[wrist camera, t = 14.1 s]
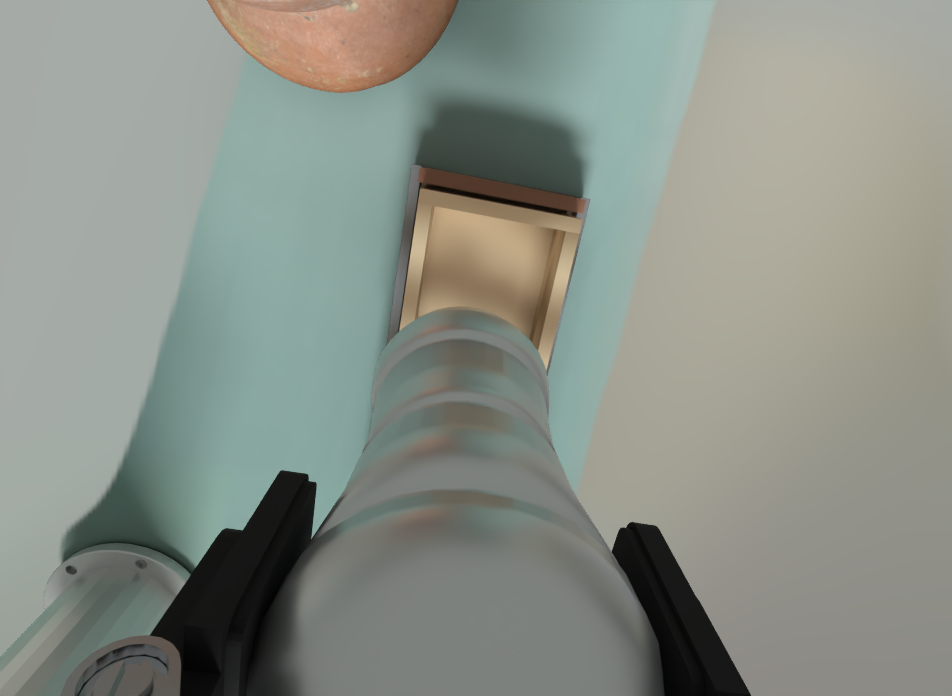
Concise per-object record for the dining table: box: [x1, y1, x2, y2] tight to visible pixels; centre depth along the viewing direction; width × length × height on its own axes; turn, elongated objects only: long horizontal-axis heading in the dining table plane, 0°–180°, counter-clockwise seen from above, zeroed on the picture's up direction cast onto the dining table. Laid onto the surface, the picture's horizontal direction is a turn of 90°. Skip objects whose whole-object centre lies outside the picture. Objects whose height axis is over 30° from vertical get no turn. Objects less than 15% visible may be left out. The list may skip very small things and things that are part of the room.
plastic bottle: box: [246, 307, 665, 696], centre depth 13 cm, size 6×7×20 cm
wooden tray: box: [387, 164, 590, 375], centre depth 35 cm, size 24×11×4 cm, turn 169°
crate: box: [399, 187, 583, 370], centre depth 33 cm, size 13×9×4 cm
